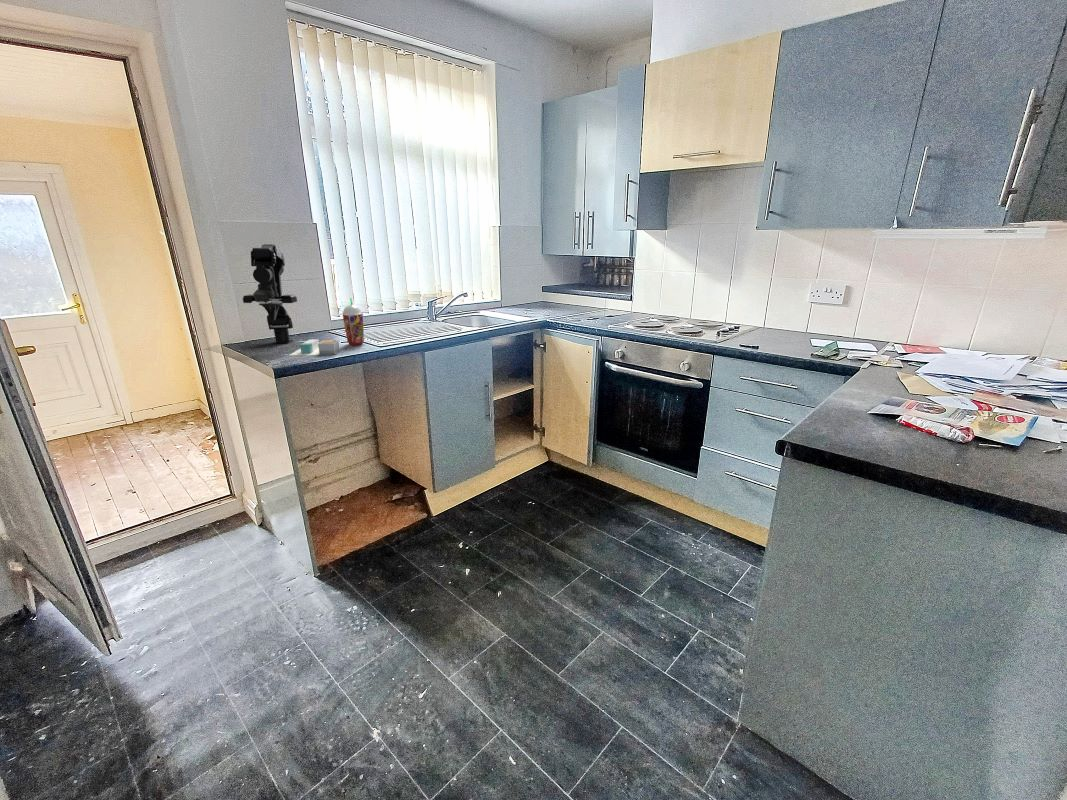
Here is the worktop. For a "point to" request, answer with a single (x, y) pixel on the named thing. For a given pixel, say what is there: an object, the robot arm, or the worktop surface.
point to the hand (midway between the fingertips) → (273, 320)
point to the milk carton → (309, 346)
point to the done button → (328, 341)
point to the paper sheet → (305, 353)
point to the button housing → (328, 348)
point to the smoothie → (353, 324)
